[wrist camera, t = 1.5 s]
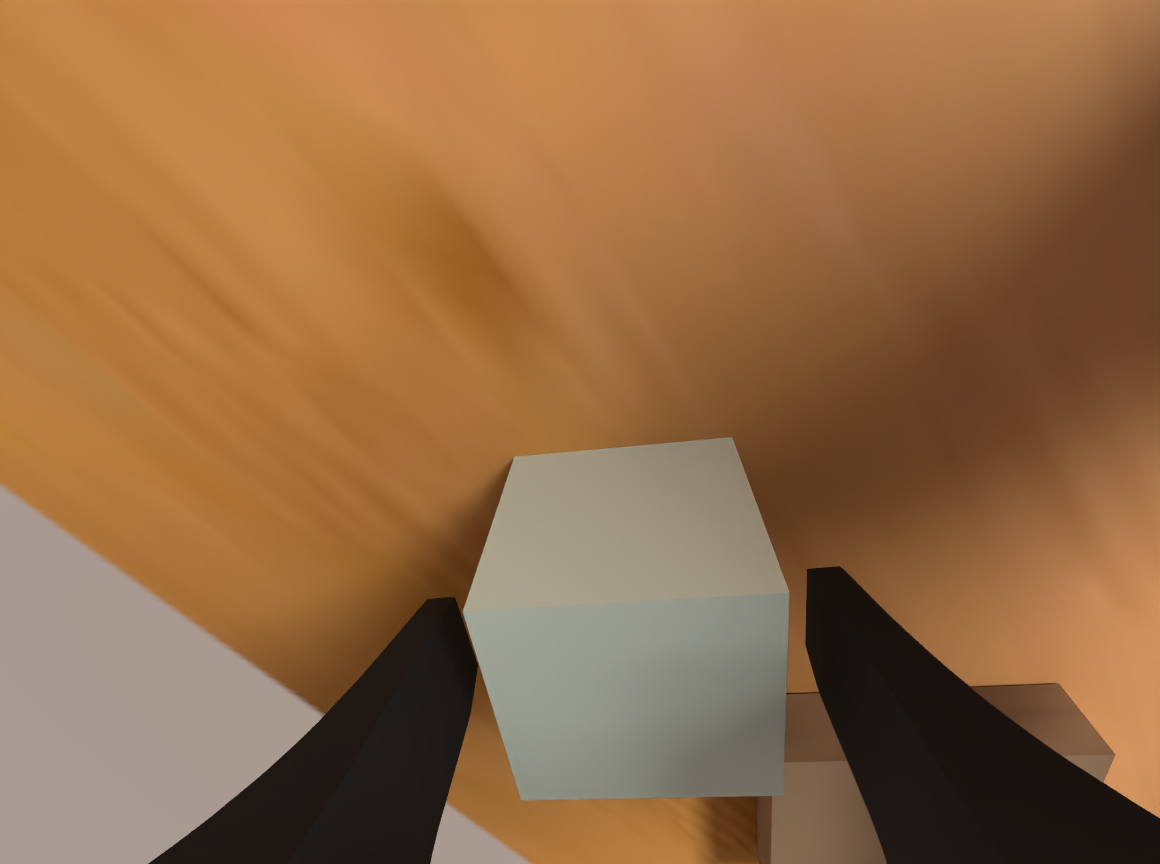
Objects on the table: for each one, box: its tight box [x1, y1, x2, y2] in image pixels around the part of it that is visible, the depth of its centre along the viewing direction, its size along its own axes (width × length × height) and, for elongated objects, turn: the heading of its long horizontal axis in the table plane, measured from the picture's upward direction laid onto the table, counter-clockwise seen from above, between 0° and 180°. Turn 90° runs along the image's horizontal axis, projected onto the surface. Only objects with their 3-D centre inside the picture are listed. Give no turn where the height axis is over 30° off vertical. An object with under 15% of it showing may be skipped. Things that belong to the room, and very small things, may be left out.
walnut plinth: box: [757, 684, 1115, 864], centre depth 17 cm, size 8×8×2 cm
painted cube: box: [463, 437, 789, 800], centre depth 12 cm, size 5×5×5 cm
